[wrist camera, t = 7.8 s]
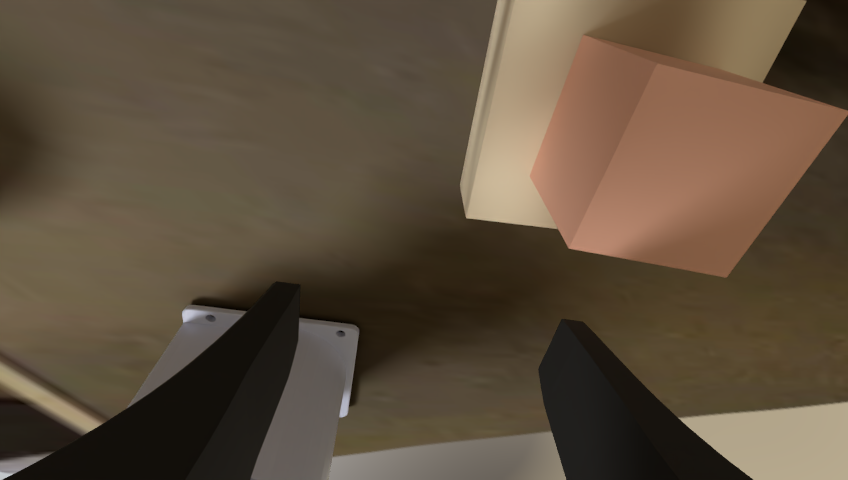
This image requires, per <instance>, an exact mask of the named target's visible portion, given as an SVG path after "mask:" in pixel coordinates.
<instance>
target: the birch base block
mask: <svg viewBox="0 0 848 480" xmlns="http://www.w3.org/2000/svg"><path fill="white" fill-rule="evenodd" d="M805 3H806V1H804V0H498V1H497V6H496V11H495V16H494V21H493V25H492V30H491V35H490V40H489V45H488V50H487V55H486V60H485V65H484V69H483V74H482V79H481V84H480V89H479V94H478V99H477V104H476V108H475V113H474V118H473V123H472V128H471V133H470V138H469V143H468V148H467V152H466V157H465V162H464V167H463V172H462V177H461V182H460V190H461V195H462V200H463V205H464V210H465V215H466V218H470V219H478V220H486V221H495V222H503V223H512V224H520V225H528V226H537V227H545V228H553V229H558V228H557V226H556V224H555V222H554V220H553V218H552V217H551V215H550V213H549V211H548V209H547V207H546V206H545V204H544V202H543V200H542V198H541V196H540V195H539V193H538V191H537V189H536V187H535V185H534V184H533V182H532V180H531V178H530V173H531V171H532V168H533V165H534V163H535V160H536V158H537V155H538V152H539V150H540V147H541V144H542V142H543V139H544V136H545V134H546V131H547V129H548V126H549V123H550V121H551V118H552V115H553V113H554V110H555V107H556V105H557V102H558V99H559V97H560V94H561V92H562V89H563V86H564V84H565V81H566V78H567V76H568V73H569V70H570V68H571V65H572V63H573V60H574V57H575V55H576V52H577V49H578V47H579V44H580V41H581V39H582V36H583V35H587V36H591V37H595V38H599V39H603V40H607V41H610V42H614V43H618V44H622V45H626V46H630V47H634V48H638V49H642V50H646V51H650V52H654V53H658V54H662V55H666V56H670V57H674V58H678V59H682V60H686V61H690V62H694V63H698V64H701V65H705V66H709V67H713V68H717V69H721V70H725V71H728V72H731V73H734V74H737V75H740V76H743V77H746V78H749V79H752V80H755V81H758V82H761V83H763V81H764V79H765V77H766V75H767V73H768V72H769V70H770V68H771V66H772V64H773V62H774V61H775V59H776V57H777V55H778V53H779V51H780V49H781V48H782V46H783V44H784V42H785V40H786V38H787V36H788V35H789V33H790V31H791V29H792V27H793V25H794V23H795V22H796V20H797V18H798V16H799V14H800V12H801V11H802V9H803V7H804V5H805Z"/></svg>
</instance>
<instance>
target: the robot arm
mask: <svg viewBox="0 0 848 480" xmlns="http://www.w3.org/2000/svg"><path fill="white" fill-rule="evenodd" d="M299 310H300V285H299V284H291V283H284V282H275V283H274V284H272V285H271V286H270V288H269V289H268V290H267V291H266V292H265V293H264V294H263V295H262V296H261V297H260V298H259V300H258V301H257V302H256V303H255V304H254V305H253V306H252V307H251V308H250V309H249V310H248V311H240V310H232V309H223V308H215V307H207V306H199V305H188V306H186V307H185V309H184V310H183V312H182V317H183V324H182V326H181V327H180V329H179V330H178V332H177V333H176V335H175V336H174V338H173V339H172V341H171V342H170V344H169V345H168V347H167V348H166V350H165V351H164V353H163V354H162V356H161V357H160V359H159V360H158V362H157V363H156V365H155V366H154V368H153V370H152V371H151V373H150V374H149V376H148V377H147V379H146V380H145V382H144V383H143V385H142V386H141V388H140V389H139V391H138V392H137V394H136V395H135V397H134V398H133V400H132V401H131V403H130V404H129V406H128V407H127V409H125V410H124V411H122V412H121V413H119V414H118V415H116V416H114V417H113V418H111V419H110V420H108V421H107V422H105V423H103V424H102V425H100V426H99V427H97V428H95V429H93V430H92V431H90V432H88V433H87V434H85V435H83V436H81V437H80V438H78V439H76V440H75V441H73V442H71V443H69V444H68V445H66V446H64V447H62V448H61V449H59V450H57V451H56V452H54V453H52V454H50V455H49V456H47V457H45V458H43V459H41V460H40V461H38V462H36V463H34V464H32V465H30V466H29V467H27V468H25V469H23V470H21V471H19V472H17V473H15V474H13V475H11V476H9V477H7V478H5V479H3V480H328V479H329V472H330V467H331V461H332V456H333V450H334V444H335V438H336V433H337V427H338V421H339V417H344V416H346V415H347V414H348V409H349V402H350V395H351V388H352V381H353V373H354V366H355V359H356V352H357V345H358V337H359V329H358V327H357V326H355V325H352V324H346V323H337V322H329V321H321V320H313V319H305V318H299ZM210 315H213V316H214V317H212V316H210ZM339 331H344V332H339ZM539 376H540V383H541V390H542V395H543V401H544V406H545V409H546V413H547V416H548V420H549V423H550V426H551V430H552V433H553V437H554V440H555V443H556V446H557V450H558V453H559V456H560V460H561V463H562V466H563V470H564V473H565V476H566V480H753V479H752V478H750V477H749V476H748V475H746V474H745V473H744V472H742V471H741V470H740V469H739V468H737V467H736V466H735V465H733V464H732V463H730V462H729V461H728V460H727V459H726V458H724V457H723V456H722V455H720V454H719V453H718V452H717V451H716V450H714V449H713V448H712V447H711V446H710V445H709V444H707V443H706V442H705V441H704V440H703V439H701V438H700V437H699V436H698V435H697V434H696V433H694V432H693V431H692V430H691V429H690V428H688V427H687V426H686V425H685V424H684V423H683V422H682V421H681V420H680V419H678V418H677V417H676V416H675V415H674V414H673V413H672V412H671V411H670V410H669V409H668V408H667V407H666V406H665V405H664V404H663V403H662V402H660V401H659V400H658V399H657V398H656V397H655V396H654V395H653V394H652V393H651V392H650V391H649V390H648V389H647V388H646V387H645V386H644V385H643V384H642V383H641V382H640V381H639V380H638V379H637V378H636V377H635V376H634V375H633V374H632V373H631V371H630V370H629V369H628V368H627V367H626V366H625V365H624V364H623V363H622V362H621V361H620V360H619V359H618V358H617V357H616V356H615V355H614V354H613V352H612V351H611V350H610V349H609V348H608V347H607V346H606V345H605V344H604V343H603V342H602V341H601V340H600V339H599V338H598V337H597V336H596V334H595V333H594V332H593V331H592V330H591V329H590V328H589V327H588V326H587V325H586V324H584V323H583V322H581V321H574V320H566V319H562V320H561V322H560V324H559V326H558V328H557V330H556V333H555V335H554V337H553V339H552V341H551V343H550V345H549V347H548V349H547V352H546V354H545V356H544V358H543V360H542V362H541V364H540V366H539Z"/></svg>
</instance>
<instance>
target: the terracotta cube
mask: <svg viewBox="0 0 848 480" xmlns="http://www.w3.org/2000/svg"><path fill="white" fill-rule="evenodd" d="M847 115H848V111H847V110H844V109H841V108H838V107H835V106H832V105H829V104H825V103H822V102H819V101H816V100H813V99H810V98H807V97H804V96H801V95H798V94H795V93H792V92H789V91H786V90H783V89H780V88H777V87H773V86H770V85H767V84H764V83H761V82H758V81H755V80H752V79H749V78H746V77H743V76H740V75H737V74H734V73H731V72H728V71H725V70H721V69H717V68H713V67H709V66H705V65H701V64H698V63H694V62H690V61H686V60H682V59H678V58H674V57H670V56H666V55H662V54H658V53H654V52H650V51H646V50H642V49H638V48H634V47H630V46H626V45H622V44H618V43H614V42H610V41H607V40H603V39H599V38H595V37H591V36H587V35H583V36H582V39H581V41H580V44H579V47H578V49H577V52H576V55H575V57H574V60H573V63H572V65H571V68H570V70H569V73H568V76H567V78H566V81H565V84H564V86H563V89H562V92H561V94H560V97H559V99H558V102H557V105H556V107H555V110H554V113H553V115H552V118H551V121H550V123H549V126H548V129H547V131H546V134H545V136H544V139H543V142H542V144H541V147H540V150H539V152H538V155H537V158H536V160H535V163H534V165H533V168H532V171H531V173H530V178H531V180H532V182H533V184H534V185H535V187H536V189H537V191H538V193H539V195H540V196H541V198H542V200H543V202H544V204H545V206H546V207H547V209H548V211H549V213H550V215H551V217H552V218H553V220H554V222H555V224H556V226H557V228H558V230H559V231H560V233H561V235H562V237H563V239H564V241H565V242H566V244H567V246H568V248H569V249H574V250H580V251H585V252H591V253H596V254H602V255H607V256H612V257H618V258H623V259H629V260H634V261H639V262H645V263H650V264H656V265H661V266H667V267H672V268H677V269H683V270H688V271H694V272H699V273H705V274H710V275H715V276H721V277H727V276H728V275H729V273H730V272H731V271H732V269H733V268H734V267H735V265H736V264H737V263H738V261H739V260H740V259H741V257H742V256H743V255H744V253H745V252H746V251H747V249H748V248H749V247H750V245H751V244H752V243H753V241H754V240H755V239H756V237H757V236H758V235H759V233H760V232H761V231H762V229H763V228H764V227H765V225H766V224H767V223H768V221H769V220H770V218H771V217H772V216H773V214H774V213H775V212H776V210H777V209H778V208H779V206H780V205H781V204H782V202H783V201H784V200H785V198H786V197H787V196H788V194H789V193H790V192H791V190H792V189H793V188H794V186H795V185H796V184H797V182H798V181H799V180H800V178H801V177H802V176H803V174H804V173H805V172H806V170H807V169H808V168H809V166H810V165H811V163H812V162H813V161H814V159H815V158H816V157H817V155H818V154H819V153H820V151H821V150H822V149H823V147H824V146H825V145H826V143H827V142H828V141H829V139H830V138H831V137H832V135H833V134H834V133H835V131H836V130H837V129H838V127H839V126H840V125H841V123H842V122H843V121H844V119H845V118H846V117H847Z"/></svg>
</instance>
